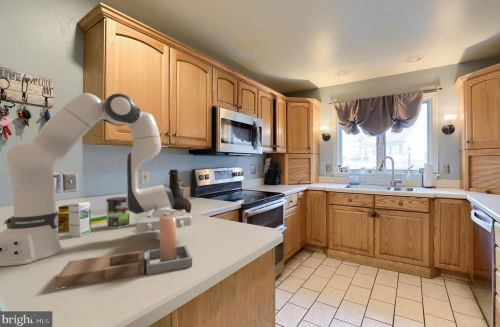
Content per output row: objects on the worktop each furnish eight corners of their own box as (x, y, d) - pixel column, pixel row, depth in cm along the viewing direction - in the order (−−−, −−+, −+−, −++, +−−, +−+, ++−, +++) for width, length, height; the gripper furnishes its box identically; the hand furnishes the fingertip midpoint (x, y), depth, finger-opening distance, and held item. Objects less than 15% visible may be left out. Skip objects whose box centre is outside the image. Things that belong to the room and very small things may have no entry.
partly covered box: (56, 289, 60) (56, 277, 60) (69, 271, 70) (69, 261, 70) (144, 273, 68) (143, 263, 68) (144, 259, 78) (144, 250, 78)
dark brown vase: (195, 215, 144) (194, 168, 144) (184, 223, 126) (183, 169, 126) (167, 215, 146) (166, 169, 146) (152, 222, 128) (151, 170, 128)
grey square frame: (146, 274, 67) (146, 265, 67) (147, 258, 79) (146, 250, 79) (192, 266, 72) (192, 258, 72) (186, 252, 84) (186, 245, 84)
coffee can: (133, 224, 124) (133, 197, 124) (113, 229, 115) (113, 200, 115) (122, 222, 129) (122, 196, 129) (102, 227, 120) (102, 199, 120)
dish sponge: (84, 224, 129) (84, 219, 129) (110, 218, 141) (110, 214, 141) (90, 225, 125) (90, 221, 125) (117, 220, 137) (117, 215, 137)
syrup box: (80, 237, 104) (79, 203, 104) (68, 236, 105) (68, 203, 105) (91, 233, 110) (90, 201, 110) (80, 232, 111) (79, 201, 111)
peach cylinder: (160, 266, 72) (159, 220, 72) (159, 260, 77) (159, 217, 77) (177, 263, 74) (177, 218, 74) (176, 258, 79) (175, 215, 79)
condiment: (54, 233, 110) (54, 207, 110) (60, 229, 118) (60, 204, 118) (73, 231, 113) (73, 206, 113) (78, 227, 121) (78, 203, 121)
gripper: (136, 214, 95) (134, 221, 83) (188, 209, 103) (194, 215, 91) (136, 230, 95) (134, 240, 83) (189, 223, 103) (194, 232, 91)
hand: (166, 227), depth 87 cm, fingers open, 8 cm apart
